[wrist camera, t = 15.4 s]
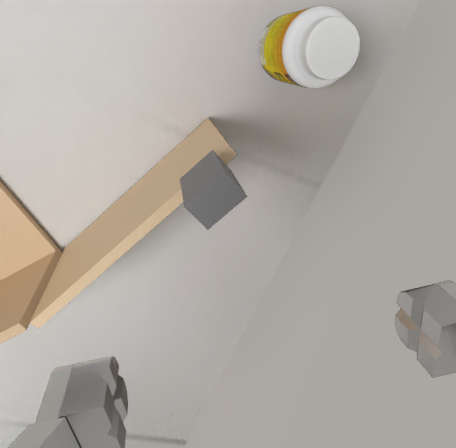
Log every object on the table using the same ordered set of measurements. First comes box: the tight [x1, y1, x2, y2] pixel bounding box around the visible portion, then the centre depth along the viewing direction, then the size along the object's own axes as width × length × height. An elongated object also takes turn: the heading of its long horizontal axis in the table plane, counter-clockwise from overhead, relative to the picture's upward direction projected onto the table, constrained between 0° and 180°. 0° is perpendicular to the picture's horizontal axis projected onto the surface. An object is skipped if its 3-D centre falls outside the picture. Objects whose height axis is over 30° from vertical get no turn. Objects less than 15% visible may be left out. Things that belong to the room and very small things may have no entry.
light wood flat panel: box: [30, 118, 247, 328], centre depth 29 cm, size 20×2×17 cm, turn 130°
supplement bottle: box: [259, 6, 360, 89], centre depth 29 cm, size 6×6×10 cm
